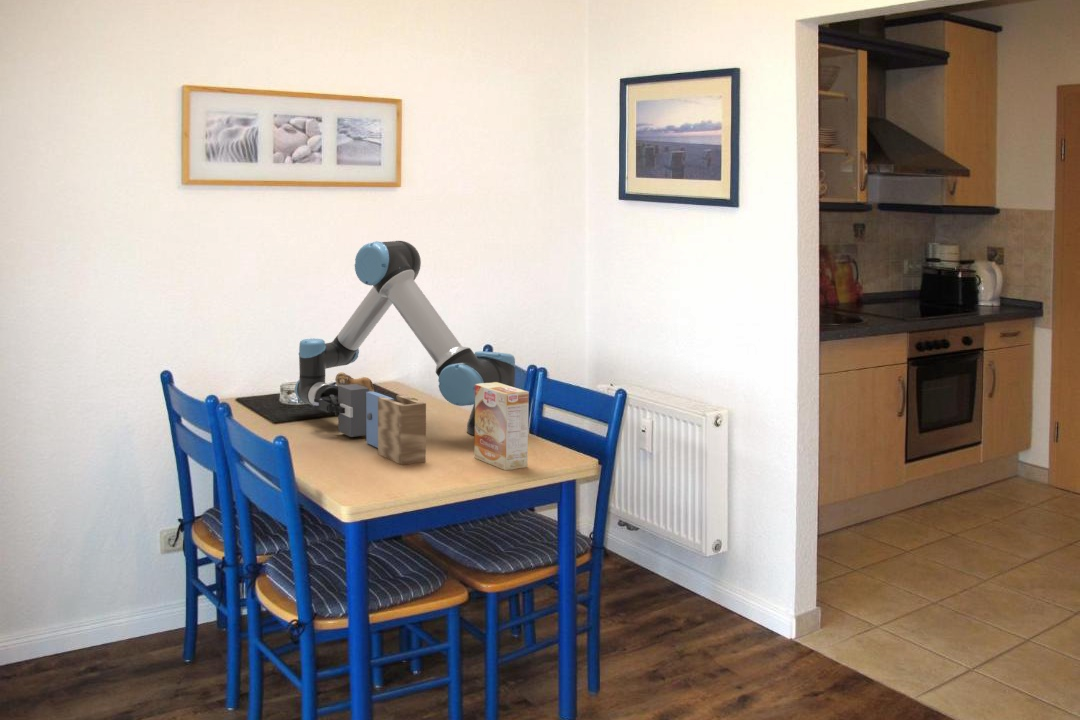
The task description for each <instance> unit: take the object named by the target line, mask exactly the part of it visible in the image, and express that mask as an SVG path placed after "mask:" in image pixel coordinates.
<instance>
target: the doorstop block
mask: <svg viewBox="0 0 1080 720" xmlns="http://www.w3.org/2000/svg"><path fill="white" fill-rule="evenodd" d="M337 388H338V403H339V406H340V404H345V405H347V406H350V407H353V417H352V418H350V417H348V416H345V415H343V414H340V413H339V416H337V417H338V419H337V421H338V424H337V425H338V427H337V428H338V429H337V430H338V432H339V433H342V434H343V435H345V436H348V437H350V438H354V437H362V436H366V392H369V388H366V387H364V386H361V385H358V384H349V385H339V386H337Z"/></svg>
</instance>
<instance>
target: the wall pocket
mask: <svg viewBox="0 0 1080 720" xmlns="http://www.w3.org/2000/svg"><path fill="white" fill-rule="evenodd" d="M395 397H396V398H395V399H396V400H394V401H393V400H391V399H388V398H385V397H378V448H377V453H378V455H379V456H381V457H383V458H386V459H387V460H390V461H392V462H393V463H397V464H399V465H401V466H405V465H410V464H417V463H425V462H426V461H427V456H426V455H427V453H426V452H427V448H426V447H427V403H425V402H422V401H421V400H418V399H417V400H418V401H417V400H414V399H412V398H413V397H411V398H410V397H408V396H406V395H404V394H403V395H402V394H399V395H398V394H397V395H395Z"/></svg>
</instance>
